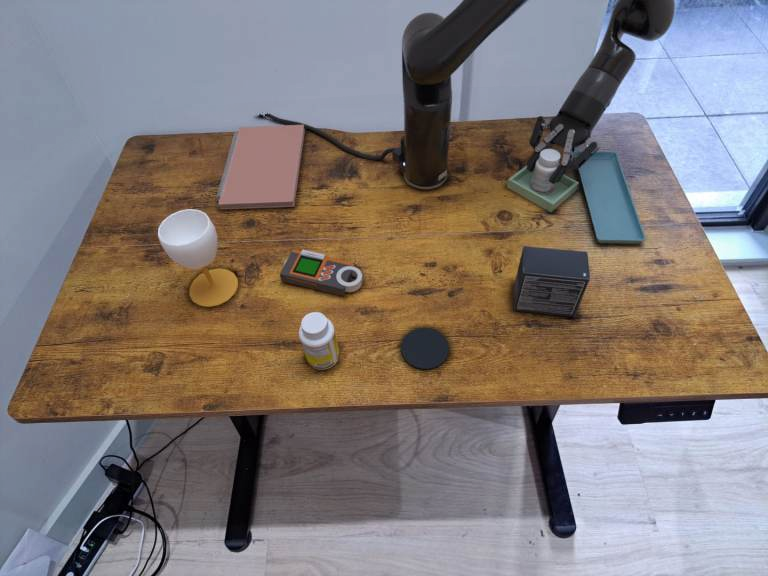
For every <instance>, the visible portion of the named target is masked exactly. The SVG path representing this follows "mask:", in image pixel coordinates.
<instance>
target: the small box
mask: <svg viewBox="0 0 768 576" xmlns="http://www.w3.org/2000/svg"><path fill="white" fill-rule="evenodd" d="M514 279H515V280H514V283H513V300H512V301H513V303H512V310H513V311H514V312H521V313H530V314H540V315H547V316H556V317H557V316H558V317H564V318H565V317H567V318H575V317H576V315H577V311H578V309H579V306H580V304H581V302H582V300H583V297H584V295H585V292H586V289H587V287H588V284H589V283H590V281H591V271H590V261H589V252H588V251H583V250H573V249H572V250H570V249H559V248H549V247H539V246H527V245H523V247H522V250H521V255H520V260H519V264H518V267H517V271H516V276H515V278H514Z"/></svg>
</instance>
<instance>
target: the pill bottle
mask: <svg viewBox="0 0 768 576" xmlns="http://www.w3.org/2000/svg"><path fill="white" fill-rule="evenodd" d="M561 156H562V155H561V153H560V152H559V151H558V150H556V149H554V148H549V149H545V150H543V151H541V153H540V156H539V159H538V160H537V161H536V164H535V168H534V173H533V177H532V181H531V189H532V190H533V191H534V192H536V193H539V194H548V193H550V192H551V191H552V190H553V188H554V185H555V184H552V183H551V182H549V179H550V177H551V176H552V174H553V173H554V171H555V170H556V168H557V166H558V165H559V164H560V161H561Z"/></svg>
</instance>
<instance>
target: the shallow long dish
mask: <svg viewBox="0 0 768 576" xmlns="http://www.w3.org/2000/svg"><path fill="white" fill-rule="evenodd" d="M583 151H584V150H583ZM583 151H579V150H578V151H577V150H575V153H574V159H575V158H576V157H577V156H578V155H579V154H580V153H581V152H583ZM577 170H578V173H579V178H580V182H581V185H582V188H583V194H584V196H585V200H586V204H587V207H588V212H589V215H590V218H591V222H592V227H593V229H594V233H595V238H596V242H597V243H599V244H618V245H619V244H621V245H624V244H625V245H636V244H640V243H644V242H645V241H646V240H647V237H646V234H645V231H644V229H643V226H642V223H641V219H640V217H639V214H638V211H637V209H636V204H635V202H634V200H633V196H632V193H631V189H630V188H629V184H628V181H627V179H626V176H625V173H624V170H623V167H622V165H621V160H620V157H619V155H618V153H617V151H614V150H613V151H612V150H609V151H608V150H607V151H606V150H605V151H604V150H602V151H600V150H598V151H597V152H596V153H595V154H594V155H593V156H592V157H590V158H589V159H588V160H587V161H586V162H585V163H584V164H583V165H582V166H581V167H580V168H579V169H577Z"/></svg>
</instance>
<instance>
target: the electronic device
mask: <svg viewBox="0 0 768 576" xmlns="http://www.w3.org/2000/svg"><path fill="white" fill-rule="evenodd" d="M279 276H280V281H281V282H283V283H287V284H291V285H294V286H299V287H303V288H307V289H312V290H315V291H320V292H325V293H327V294H333V295H337V296H340V297H345V295H346V293H354V292H357V291H358V290H359V289H360V288H362V285H363V274H362V271H361V270H360V269H359V268H358V267H356V263H355V262H352V261H347V260H342V259H338V258H334V257H329V256H327V255H326V253H325V254H324V253H319V252H315V251H311V250H306V249H302V250H299V249H295V248H293V249H292V250H291V251H290V254H289V255H288V258H286V259H285V261H284V263H283V267H282V269H281V271H280V272H279ZM353 277H354V278H356V279H354V280H353V281H352V278H353Z"/></svg>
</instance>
